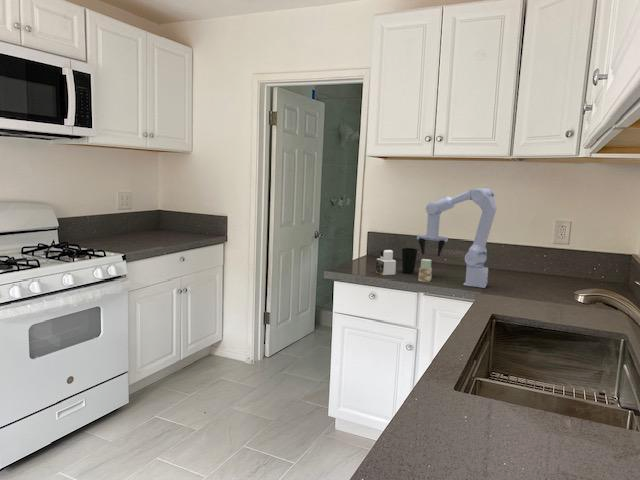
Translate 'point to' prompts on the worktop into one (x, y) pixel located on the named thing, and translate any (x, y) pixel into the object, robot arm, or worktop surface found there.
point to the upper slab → (425, 272)
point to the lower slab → (425, 278)
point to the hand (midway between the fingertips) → (430, 254)
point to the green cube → (426, 264)
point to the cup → (408, 260)
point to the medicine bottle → (386, 263)
